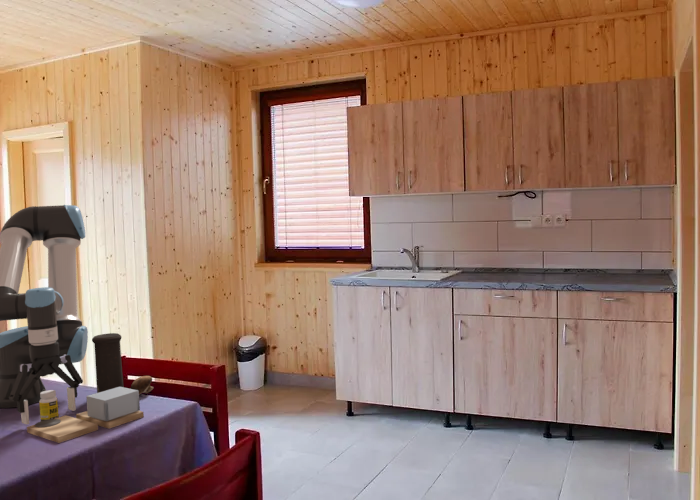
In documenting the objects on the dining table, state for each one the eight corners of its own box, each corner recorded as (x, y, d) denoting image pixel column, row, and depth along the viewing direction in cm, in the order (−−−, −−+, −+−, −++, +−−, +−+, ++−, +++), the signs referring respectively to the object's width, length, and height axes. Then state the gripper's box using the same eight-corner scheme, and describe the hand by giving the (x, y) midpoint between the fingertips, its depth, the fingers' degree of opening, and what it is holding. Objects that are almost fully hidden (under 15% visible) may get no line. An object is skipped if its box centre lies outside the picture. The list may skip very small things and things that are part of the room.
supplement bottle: (51, 423, 176) (49, 394, 176) (36, 423, 177) (34, 394, 177) (62, 418, 181) (60, 389, 180) (48, 418, 182) (46, 389, 181)
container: (115, 390, 209) (111, 330, 207) (130, 394, 203) (126, 332, 202) (91, 396, 202) (86, 335, 201) (105, 401, 196) (101, 337, 195)
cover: (87, 416, 176) (86, 396, 175) (121, 405, 184) (119, 386, 184) (106, 421, 170) (105, 400, 170) (139, 410, 179) (138, 390, 179)
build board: (25, 432, 170) (25, 425, 170) (64, 420, 179) (64, 414, 179) (58, 443, 160) (58, 436, 160) (98, 429, 169) (97, 423, 169)
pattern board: (76, 419, 179) (75, 403, 179) (110, 408, 188) (109, 393, 188) (109, 428, 170) (107, 412, 169) (143, 416, 178) (142, 401, 178)
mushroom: (162, 380, 206) (149, 367, 204) (153, 396, 199) (140, 382, 197) (145, 390, 208) (132, 377, 206) (136, 406, 201) (122, 393, 199)
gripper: (4, 352, 165) (11, 432, 166) (91, 335, 185) (97, 406, 187) (-9, 350, 170) (-3, 427, 171) (77, 333, 190) (82, 402, 191)
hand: (49, 416), depth 179 cm, fingers open, 13 cm apart
